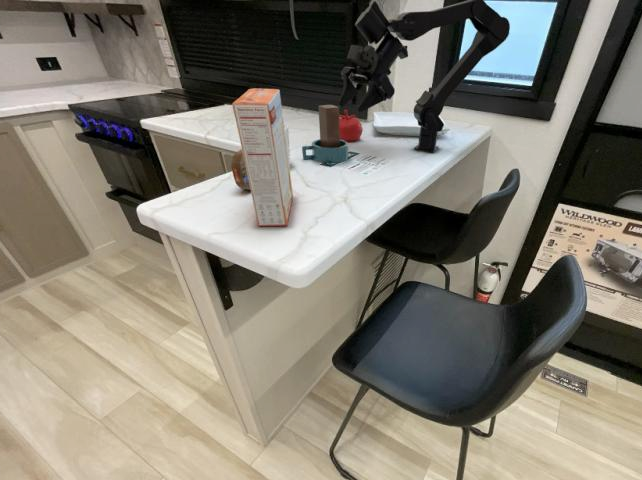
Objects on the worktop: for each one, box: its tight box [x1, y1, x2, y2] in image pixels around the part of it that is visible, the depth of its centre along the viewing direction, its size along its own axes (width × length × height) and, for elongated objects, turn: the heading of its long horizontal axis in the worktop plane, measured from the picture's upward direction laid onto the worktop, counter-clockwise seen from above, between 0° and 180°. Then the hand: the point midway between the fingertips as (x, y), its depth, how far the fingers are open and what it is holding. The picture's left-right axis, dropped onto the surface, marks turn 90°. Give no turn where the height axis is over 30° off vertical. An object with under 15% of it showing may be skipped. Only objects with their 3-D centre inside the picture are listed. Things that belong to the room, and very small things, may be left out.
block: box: [318, 104, 340, 148], centre depth 91 cm, size 4×4×13 cm
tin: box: [230, 148, 251, 191], centre depth 77 cm, size 15×3×8 cm, turn 168°
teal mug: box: [301, 138, 349, 164], centre depth 94 cm, size 13×10×4 cm
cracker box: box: [231, 87, 294, 227], centre depth 62 cm, size 14×6×21 cm, turn 5°
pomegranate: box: [339, 109, 364, 143], centre depth 109 cm, size 10×10×9 cm
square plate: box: [372, 111, 451, 137], centre depth 127 cm, size 27×27×4 cm
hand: (348, 108), depth 91 cm, fingers open, 9 cm apart
